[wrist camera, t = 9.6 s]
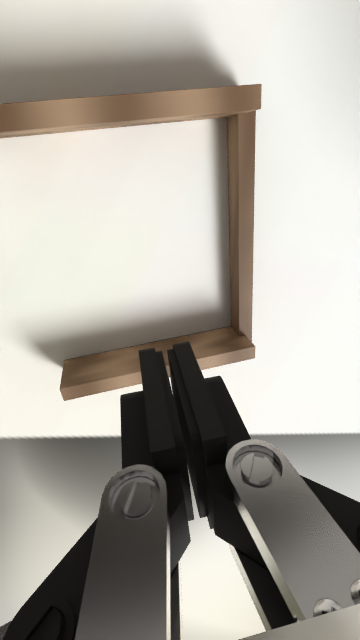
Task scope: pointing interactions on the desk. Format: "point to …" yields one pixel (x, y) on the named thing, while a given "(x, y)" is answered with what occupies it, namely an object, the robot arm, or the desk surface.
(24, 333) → the desk surface
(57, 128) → the walnut open frame
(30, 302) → the desk surface
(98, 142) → the desk surface
